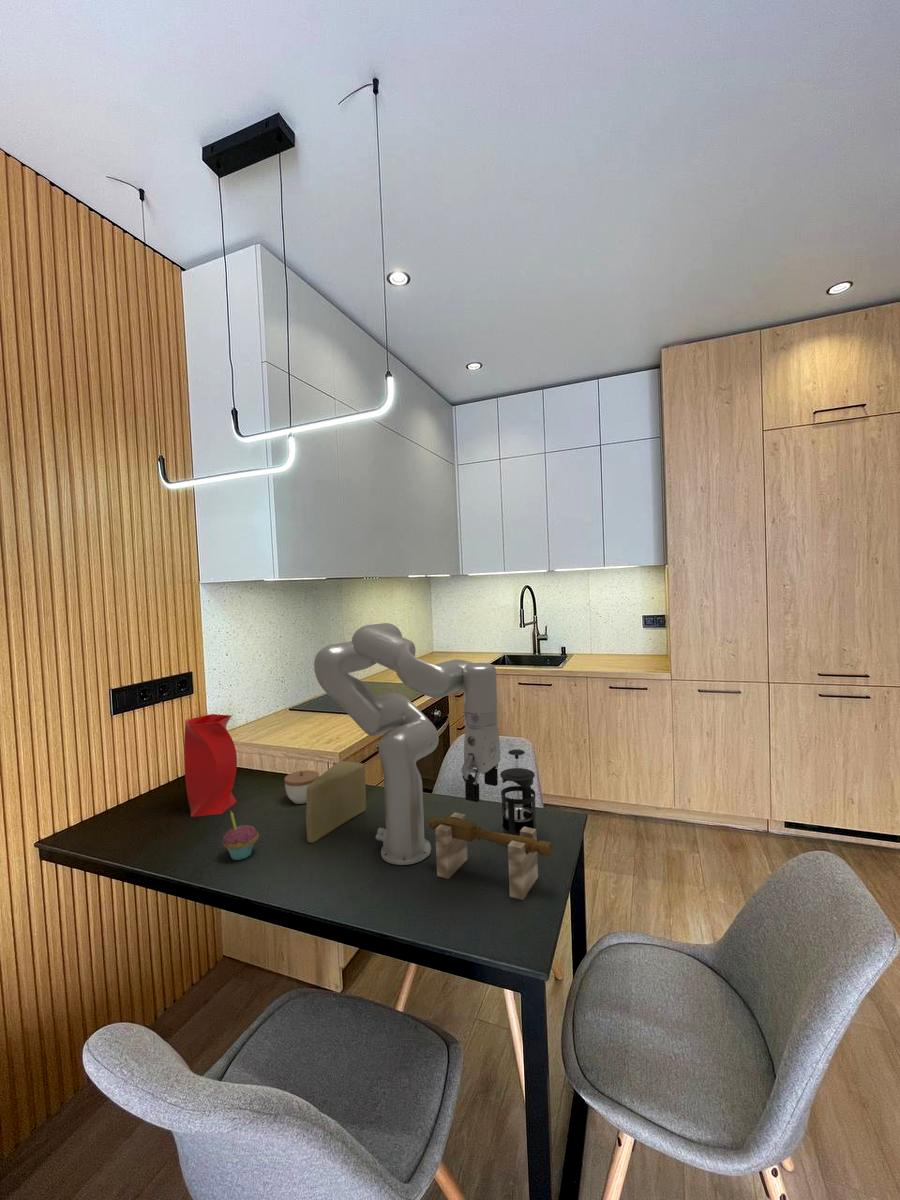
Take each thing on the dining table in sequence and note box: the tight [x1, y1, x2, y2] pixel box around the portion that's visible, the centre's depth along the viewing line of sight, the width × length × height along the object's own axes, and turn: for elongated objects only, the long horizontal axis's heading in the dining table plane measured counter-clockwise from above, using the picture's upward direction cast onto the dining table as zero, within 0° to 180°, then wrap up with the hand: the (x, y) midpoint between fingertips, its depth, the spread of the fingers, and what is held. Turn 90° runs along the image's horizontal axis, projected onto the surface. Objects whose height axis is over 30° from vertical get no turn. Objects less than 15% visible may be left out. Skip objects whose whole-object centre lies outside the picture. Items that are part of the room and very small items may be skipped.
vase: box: [183, 713, 238, 818], centre depth 159 cm, size 15×14×28 cm
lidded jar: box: [283, 769, 320, 805], centre depth 163 cm, size 11×11×9 cm
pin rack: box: [434, 812, 539, 901], centre depth 116 cm, size 21×9×11 cm, turn 61°
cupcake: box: [221, 810, 260, 861], centre depth 130 cm, size 9×8×12 cm
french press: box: [500, 749, 539, 841], centre depth 133 cm, size 12×9×23 cm
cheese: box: [305, 760, 367, 844], centre depth 144 cm, size 22×10×15 cm, turn 159°
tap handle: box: [428, 816, 552, 857], centre depth 116 cm, size 3×3×30 cm
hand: (482, 792), depth 116 cm, fingers open, 9 cm apart
